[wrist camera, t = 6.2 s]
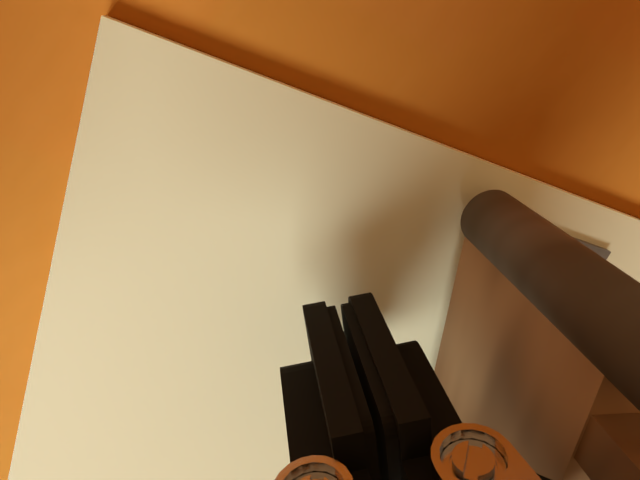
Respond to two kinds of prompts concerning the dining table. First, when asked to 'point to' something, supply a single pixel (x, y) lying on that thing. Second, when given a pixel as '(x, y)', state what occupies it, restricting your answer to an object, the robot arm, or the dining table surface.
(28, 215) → the dining table surface
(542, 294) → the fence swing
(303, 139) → the card
